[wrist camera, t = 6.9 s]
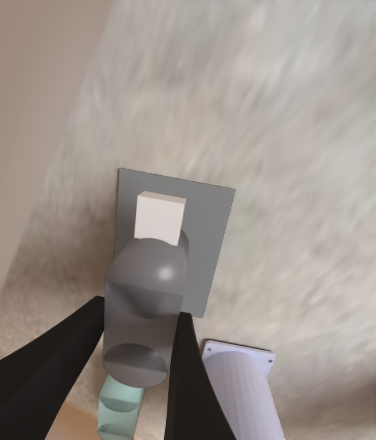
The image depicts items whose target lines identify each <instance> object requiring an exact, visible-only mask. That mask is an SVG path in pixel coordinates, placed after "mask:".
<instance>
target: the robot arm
mask: <svg viewBox="0 0 376 440" xmlns="http://www.w3.org/2000/svg"><path fill="white" fill-rule="evenodd" d="M104 299H105V297H101V296H95V297H94V298H93V299H91V300H90V301H89V302H87V303H86V304H85V305H83V306H82V307H81V308H79V309H78V310H77V311H75V312H74V313H73V314H71V315H70V316H68V317H67V318H66V319H64V320H63V321H61V322H60V323H59V324H57V325H56V326H54V327H53V328H51V329H50V330H48V331H47V332H45V333H44V334H42V335H41V336H39V337H38V338H36V339H35V340H33V341H32V342H30V343H28V344H27V345H25V346H23V347H22V348H20V349H18V350H17V351H15V352H13V353H12V354H10V355H8V356H6V357H5V358H3V359H1V360H0V440H45V438H46V435H47V433H48V432H49V430H50V428H51V426H52V424H53V422H54V420H55V418H56V415H57V413H58V412H59V410H60V408H61V406H62V404H63V402H64V400H65V399H66V397H67V395H68V393H69V392H70V390H71V388H72V387H73V385H74V383H75V382H76V380H77V378H78V377H79V375H80V373H81V371H82V370H83V368H84V366H85V365H86V363H87V361H88V360H89V358H90V356H91V355H92V353H93V351H94V350H95V348H96V346H97V344H98V342H99V340H100V338H101V336H102V333H103V331H104V310H105V300H104ZM275 359H276V356H275V354H274V353H273V352H270V351H265V350H260V349H254V348H249V347H244V346H238V345H233V344H228V343H222V342H217V341H212V340H208V341H206V343H205V346H204V350H203V353H202V357H201V353H200V350H199V346H198V343H197V339H196V335H195V331H194V326H193V320H192V315H191V313H186V312H181V311H180V314H179V318H178V323H177V328H176V333H175V338H174V342H173V349H172V355H171V364H170V378H169V392H168V406H167V418H166V428H165V435H164V440H285V437H284V433H283V430H282V427H281V424H280V420H279V417H278V414H277V411H276V407H275V404H274V401H273V398H272V394H271V391H270V388H269V385H268V381H267V377H268V374H269V372H270V370H271V368H272V365H273V363H274V361H275Z"/></svg>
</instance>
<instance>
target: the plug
mask: <svg viewBox="0 0 376 440" xmlns="http://www.w3.org/2000/svg"><path fill="white" fill-rule="evenodd" d="M185 202H186V199H185V198H179V197H174V196H168V195H163V194H158V193H152V192H147V191H144V192H142V193H141V194H139V195H138V199H137V211H136V223H135V235H134V237H133V238H132V239H131V241H130V242H129V243H128V244H127V246H126V247H125V248H124V249H123V251H122V252H121V253H120V254H119V256H118V257H117V258H116V259H115V261H114V262H113V263H112V264H111V266H110V267H109V269H108V271H107V273H106V276H105V299H104V300H105V310H104V339H103V365H104V368H105V370H106V372H107V373H108V374H109V375H110V376H111V377H112V378H113V379H114V380H116V381H117V382H119V383H121V384H123V385H126V386H129V387H134V388H149V387H153V386H156V385H158V384H160V383H161V382H162V381H163V380H164V379H165V378H166V376H167V373H168V368H169V363H170V358H171V353H172V349H173V342H174V338H175V333H176V328H177V323H178V318H179V314H180V310H181V305H182V300H183V296H184V287H185V279H186V271H187V263H188V255H189V241H188V238H187V236H186V234H185V233H184V231H183V230H182V229H181V225H182V220H183V214H184V208H185Z"/></svg>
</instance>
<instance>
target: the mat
mask: <svg viewBox="0 0 376 440" xmlns="http://www.w3.org/2000/svg"><path fill="white" fill-rule="evenodd" d="M144 191H147V192H152V193H158V194H163V195H168V196H174V197H179V198H185V199H186V202H185V208H184V214H183V220H182V225H181V229H182V230H183V231H184V233H185V234H186V236H187V238H188V241H189V255H188V263H187V271H186V279H185V287H184V296H183V300H182V305H181V310H180V311H181V312H186V313H191V315H192V316H193V317H199V318H203V316H204V312H205V308H206V304H207V300H208V296H209V292H210V288H211V284H212V280H213V276H214V273H215V269H216V265H217V261H218V257H219V253H220V249H221V245H222V241H223V237H224V233H225V229H226V225H227V222H228V218H229V214H230V210H231V206H232V202H233V198H234V194H235V189H231V188H226V187H221V186H215V185H210V184H205V183H199V182H194V181H188V180H183V179H178V178H172V177H167V176H162V175H156V174H151V173H145V172H140V171H135V170H129V169H124V168H119V185H118V201H117V217H116V233H115V250H114V261H115V259H116V258H117V257H118V256H119V254H120V253H121V252H122V251H123V249H124V248H125V247H126V246H127V244H128V243H129V242H130V241H131V239H132V238H133V237H134V235H135V223H136V211H137V199H138V195H139V194H141V193H142V192H144Z"/></svg>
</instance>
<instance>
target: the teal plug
mask: <svg viewBox="0 0 376 440" xmlns="http://www.w3.org/2000/svg"><path fill="white" fill-rule="evenodd" d="M144 392H145V388H134V387H129V386H126V385H123V384H121V383H119V382H117V381H116V380H114V379H113V378H112V377H111V376H110V375H109V374H108V375H107V378H106V380H105V382H104V385H103V387H102V389H101V392H100V394H99V411H98V435H99V437H100V438H101V439H102V440H133V438H134V434H135V429H136V425H137V421H138V417H139V413H140V408H141V404H142V400H143V396H144Z"/></svg>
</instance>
